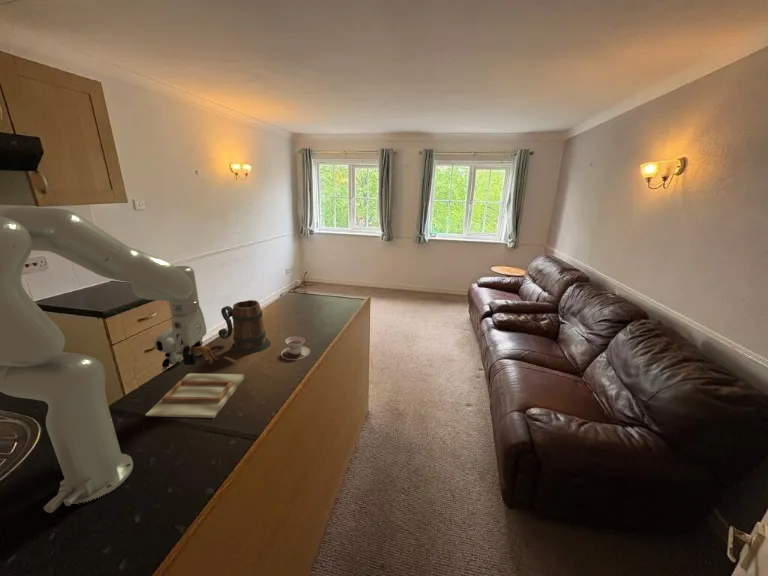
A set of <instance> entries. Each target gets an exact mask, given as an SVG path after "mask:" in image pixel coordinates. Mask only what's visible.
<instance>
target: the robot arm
mask: <svg viewBox="0 0 768 576" xmlns="http://www.w3.org/2000/svg"><path fill="white" fill-rule="evenodd" d="M32 251H38V252H40V251H41V252H50V253H53V254H56V255H57V256H60V257H61V258H64V259H65V260H67V261H69V262H73V263H74V264H76V265H78V266H80V267H82V268H84V269H86V270H88V271H90V272H93V273H94V274H96V275H97V276H100V277H103V278H107V279H111V280H115V281H119V282H126V283H131V291H132V293H134V295H135V296H136V297H138V298H140V299H144V300H148V301H149V300H151V301H163V302H164V301H166V302H167V301H168V303H169V304H168V305H169V310H170V314H171V315H170V316H171V328H172V332H173V339H174V343H175V345H176V349H175V352H180V353H181V354H183V357H182V361H183V364H184V365H185V366H194V365H196V358H203V357H204V356H203V355H202V354H201V355H198V356H194V353H192V346H195V347H199V346H203V345H204V344H203V343H204V342H203V338H204V337H205V336H206V335H207V332H208V331H207V326H206V320H205V317H204V313H203V311H202V308H201V306H200V302H199V301H200V300H199V295H198V289H197V283H196V276H195V270H194V269H193V267H191V266H188V265H173V264H171V263H169V262H168V261H166V260H163V259H161V258H159V257H156V256H153V255H151V254H148V253H146V252H143V251H141V250H139V249H136V248H133V247H130V246H128V245H127V244H125V243H123V242H122V241H120V240H119V239H117V238H115V237H114V236H112V235H111V234H109V233H108V232H107V231H104V230H103V229H101V228H100V227H98V226H97V225H96V224H94V223H92V221H90V220H87V219H86V218H84V217H83V216H82V215H79V214H78V213H76V212H75V211H74V212H73V211H72V210H68V209H65V208H64V209H62V208H58V207H57V208H55V207H33V206H32V207H31V206H30V207H29V206H28V207H27V206H26V207H25V206H24V207H22V206H21V207H20V206H19V207H6V208H5V207H4V208H0V392H1V393H2V394H5V395H7V396H10V397H14V398H21V399H28V400H29V399H30V400H36V401H42V402H44V403H46V404H47V406H48V409H47V413H46V416H45V427H46V431H47V434H48V436H49V438H50V441H51V444H52V447H53V449H54V453H55V456H56V457H57V458H56V459H57V461H58V464H59V466H60V470H61V472H62V476H63V477H64V479H63V480H61V481H60V482H59V485H60V487H59V489H58V491H57V495H55V496H54V497H53V498H52V499H51V500H49V501H48V502H47V503H46V504H45V505H44V506H43V510H44V511H45V512H46V513H49V514H51V513H53V512H55V510H57V509H58V507H59V506H61V505H62V503H63V502H64V503H63V504H64V505H65V506H66V507H69V506H72V505H71V504H78V505H80V504H79V503H83V502H84V503H83V504H86V503H85V502H87V503H89V502H88V501H90V502H92V501H91V500H93V499H95V500H97V499H96V498H98V499H100V498H102V497H104V496H106V495H108V494H109V493H111V492H113V491H114V490H116V488H118V487H119V486H121V485H122V484H123V483H124V482H125V480H126V479H127V478H128V477H130V474H131V473H132V471H133V468H134V462H133V459H132V458H133V457H131V456H130V455H129V454H127V453H126V454H125V453H122V451H121V447H120V444H119V440H118V437H117V433H116V430H115V426H114V423H113V419H112V416H111V412H110V407H109V404H108V400H107V395H106V394H107V393H106V369H105V367H104V365H103V364H102V362H101V361H100V360H99V359H97V358H95V357H94V356H91V355H87V354H83V353H75V352H67V351H64V349H65V345H66V339H65V335H64V333H63V331H62V330H61V329H60V328H59V327H58V325H57V324H56V323H55V322H54V321H53V320H52V319H51V318H50V317H49V316H48V315H47V314H46V312H45V311H44V310H43V309H42V308H41V307H40V306H38V304H37V303H36V302H35V301H34V300H33V298H31V296H30V295H29V293H27V291H26V290H25V288H24V285H23V284H22V283H23V281H22V274H23V271H24V268H25V265H26V263H27V261H28V259H29V257H30V255H31V253H32ZM185 347H188V349H186V348H185ZM107 493H108V494H107ZM105 494H106V495H105ZM103 495H104V496H103ZM101 496H102V497H101ZM99 497H100V498H99ZM93 501H94V500H93Z"/></svg>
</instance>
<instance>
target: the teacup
mask: <svg viewBox="0 0 768 576" xmlns="http://www.w3.org/2000/svg"><path fill="white" fill-rule="evenodd" d="M305 341H306V339H305V338H304V337H302V336H298V335H295V336H290V337H287V338H286V339H285V341H284V343H285V344H286V345H287V348H284V349H283V350H282V351H281V352H280V356H281V358H283V359H286V360H291V361H298V360H301V359H305V358H306V357H308V356H309V355H310V354H311V350H310V348H308V347H306V346H304V344H305ZM287 351H288V353H290V354H291V355H293V356H297V355H301V356H302V357H299V358H292V359H291V358H286V357H284V356H283V353H285V352H287Z"/></svg>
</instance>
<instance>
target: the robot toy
mask: <svg viewBox="0 0 768 576" xmlns="http://www.w3.org/2000/svg"><path fill="white" fill-rule="evenodd" d="M152 341H153V343H154V346H155V349H156V350H157V351H159V352H160V353H165V354H164V357H165V358H164V360H163V361H162V363H161V364H162V365H161V368H162V372H166V371H167V370H168V367H170V365H173V366H178V365H179V364H180V363H182V361H183V356H182V355H180V354H176V353H175V343H174V339H173V332H172V327H170V328H168V329H166V330H164V331H162V333H160V334H159V335H158V336H157V338H156V341H155V337H152ZM179 362H180V363H179ZM178 363H179V364H178ZM175 364H176V365H175Z"/></svg>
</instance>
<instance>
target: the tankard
mask: <svg viewBox="0 0 768 576" xmlns="http://www.w3.org/2000/svg"><path fill="white" fill-rule="evenodd" d="M220 313H221V316H222V317H223V318H222V319H224V321H225V322H226V327H227V328H222V329H220V330H219V331H218V336H219V338H221V339H222V340H227V339H228V338H230V337H231V335H232V334H233V341H234V342H233V343H232V345H231V346H230V348H229V351H233V352H234V353H236V354H241V355H242V354H243V355H245V354H246V355H250V354H255V353H260V352H262V351H265V350H267V349H268V348H269V347H271V345H272V342H271V341H270V340H269V339H268V338H267V337H266V334H267V333H266V330H265V326H264V320H263V318H264V317H263V314H264V313H263V310H262V309H261V306H260V302H259V301H257V300H255V299H254V300H253V299H249V300H244V301H238V302H236V303H234V304H233V307H231V306H229V305H226V306H224V307H222V308H221V311H220ZM231 319H232V320H231Z"/></svg>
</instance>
